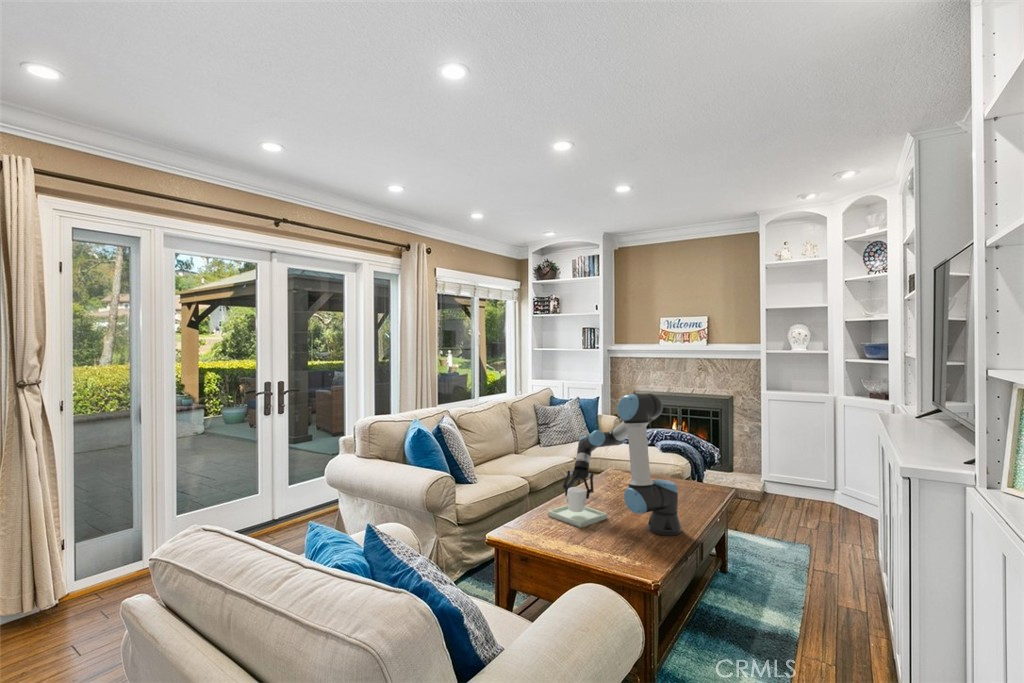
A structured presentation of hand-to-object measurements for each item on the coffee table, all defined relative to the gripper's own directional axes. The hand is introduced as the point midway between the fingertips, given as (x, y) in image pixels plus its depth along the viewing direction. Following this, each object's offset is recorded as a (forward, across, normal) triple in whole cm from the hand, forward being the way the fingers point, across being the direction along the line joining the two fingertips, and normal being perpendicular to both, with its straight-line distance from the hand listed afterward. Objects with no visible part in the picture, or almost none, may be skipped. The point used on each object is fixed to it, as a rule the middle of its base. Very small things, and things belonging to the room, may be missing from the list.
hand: (575, 503), depth 254 cm
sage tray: (+4, 0, -8) cm, 9 cm away
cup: (0, 0, -5) cm, 5 cm away
